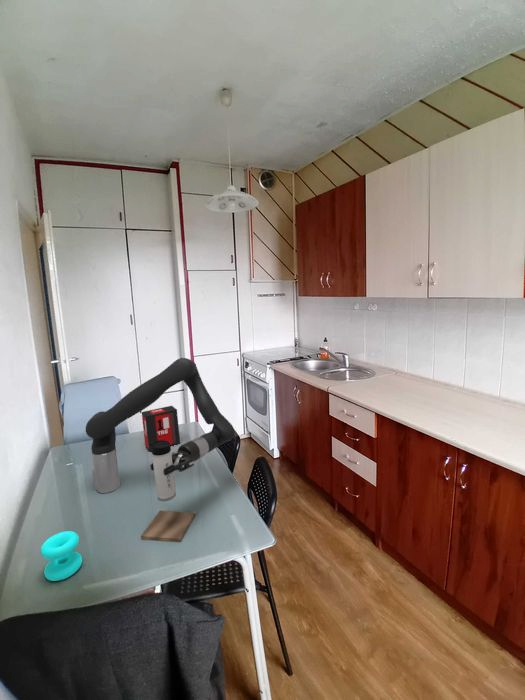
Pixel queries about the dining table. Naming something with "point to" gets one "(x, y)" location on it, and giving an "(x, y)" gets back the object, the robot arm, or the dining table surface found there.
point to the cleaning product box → (161, 426)
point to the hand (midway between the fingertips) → (157, 470)
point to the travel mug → (160, 462)
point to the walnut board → (168, 526)
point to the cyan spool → (61, 555)
